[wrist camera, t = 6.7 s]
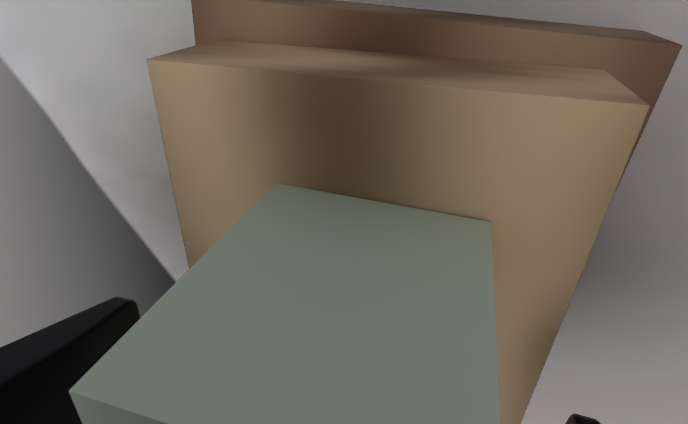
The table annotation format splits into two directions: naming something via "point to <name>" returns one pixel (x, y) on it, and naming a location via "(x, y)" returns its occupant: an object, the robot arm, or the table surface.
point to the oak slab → (410, 158)
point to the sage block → (315, 324)
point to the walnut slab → (443, 37)
